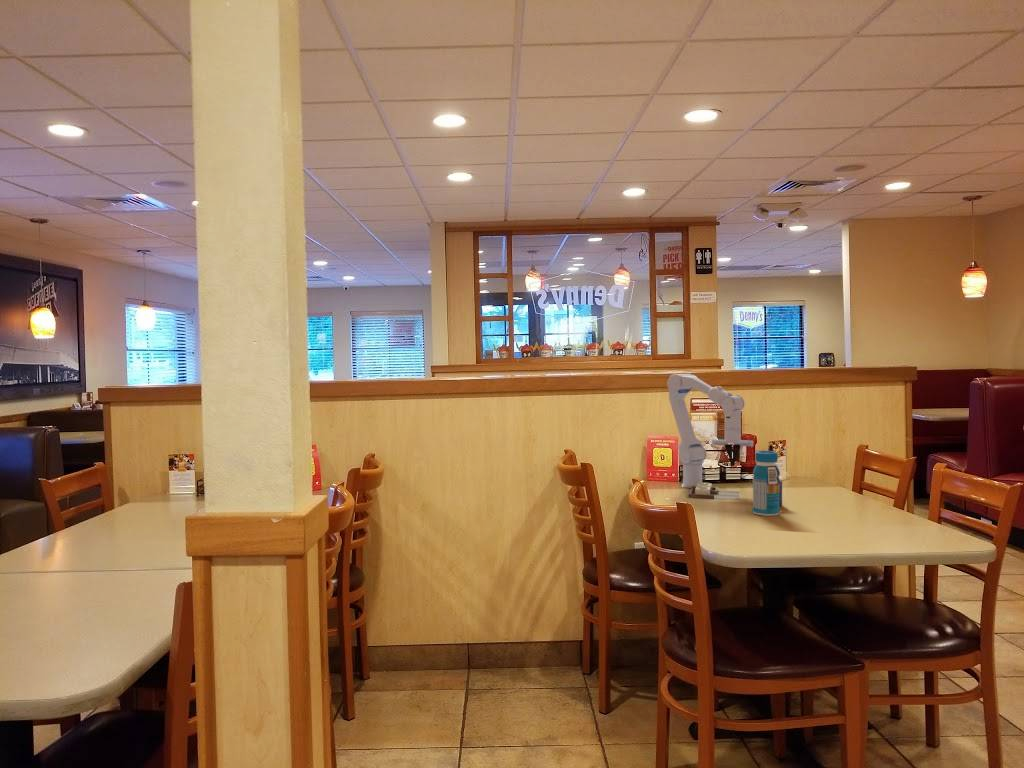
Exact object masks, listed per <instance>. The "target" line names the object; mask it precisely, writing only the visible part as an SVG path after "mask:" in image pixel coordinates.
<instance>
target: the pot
mask: <svg viewBox="0 0 1024 768" xmlns="http://www.w3.org/2000/svg"><path fill="white" fill-rule="evenodd" d="M695 494H705V495H710V487H706V486H699V487H696V488H695Z"/></svg>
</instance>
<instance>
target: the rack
mask: <svg viewBox="0 0 1024 768" xmlns="http://www.w3.org/2000/svg"><path fill="white" fill-rule="evenodd" d="M696 487H697V486H692V487H691V488H690V489H689V490H688V492H687V494H686V495H687V496H686V498H687V499H706V500H728V501H740V494H741V493H740V492H741V491H737V490H736V491H734V490H719V487H718V486H712V490H710V495H705V494H695V488H696Z"/></svg>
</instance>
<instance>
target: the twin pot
mask: <svg viewBox="0 0 1024 768" xmlns="http://www.w3.org/2000/svg"><path fill="white" fill-rule="evenodd" d="M699 486H706V487H710V490H712V487H713V486H712V482H711V483H710V482H703V481H702V483H698V484H697V487H699Z"/></svg>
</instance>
